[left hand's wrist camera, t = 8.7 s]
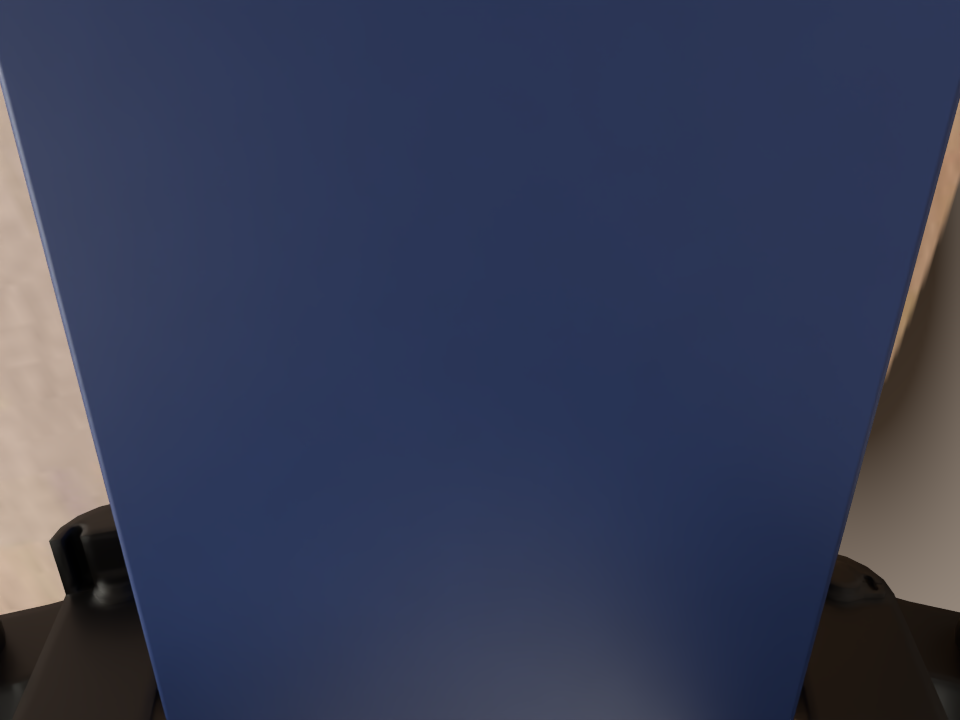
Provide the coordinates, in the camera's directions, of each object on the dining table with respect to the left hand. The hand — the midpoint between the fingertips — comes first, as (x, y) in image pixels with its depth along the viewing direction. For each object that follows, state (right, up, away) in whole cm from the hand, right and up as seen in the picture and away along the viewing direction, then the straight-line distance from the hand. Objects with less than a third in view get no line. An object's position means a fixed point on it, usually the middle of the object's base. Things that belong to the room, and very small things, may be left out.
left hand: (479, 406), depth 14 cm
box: (0, +7, -2) cm, 7 cm away
